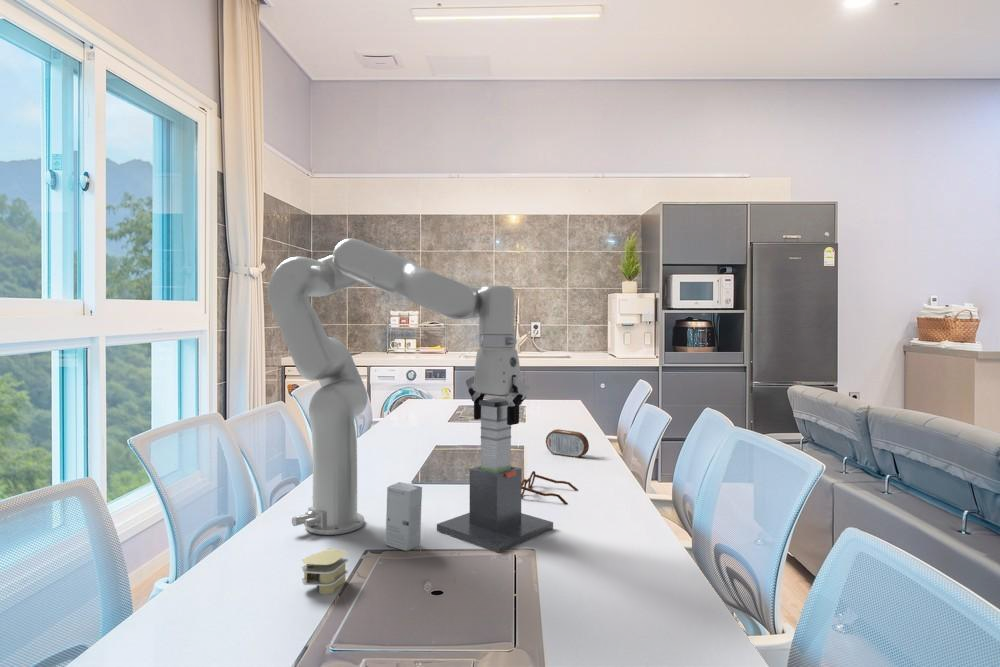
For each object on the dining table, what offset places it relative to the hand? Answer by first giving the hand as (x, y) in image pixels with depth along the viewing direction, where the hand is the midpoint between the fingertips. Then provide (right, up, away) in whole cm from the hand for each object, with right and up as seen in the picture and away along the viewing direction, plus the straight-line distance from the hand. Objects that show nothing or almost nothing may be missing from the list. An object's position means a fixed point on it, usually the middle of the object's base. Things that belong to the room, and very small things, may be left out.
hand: (496, 421), depth 131 cm
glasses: (+14, -24, +27) cm, 39 cm away
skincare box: (-19, -24, -8) cm, 32 cm away
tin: (+23, -22, +71) cm, 78 cm away
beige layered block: (-29, -25, -27) cm, 47 cm away
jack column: (0, -16, 0) cm, 16 cm away
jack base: (0, -24, +1) cm, 24 cm away
